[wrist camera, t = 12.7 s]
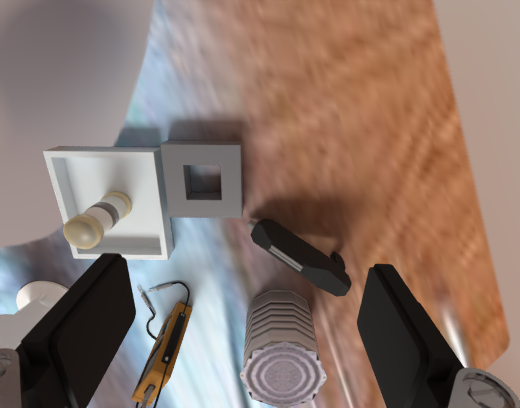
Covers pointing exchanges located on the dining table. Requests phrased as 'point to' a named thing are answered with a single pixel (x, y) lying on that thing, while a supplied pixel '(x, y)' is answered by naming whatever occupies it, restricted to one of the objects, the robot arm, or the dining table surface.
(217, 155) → the grey flat square block
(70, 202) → the parts tray
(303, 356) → the can
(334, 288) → the gun
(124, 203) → the cylinder
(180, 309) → the multimeter
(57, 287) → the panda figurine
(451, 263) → the dining table surface
